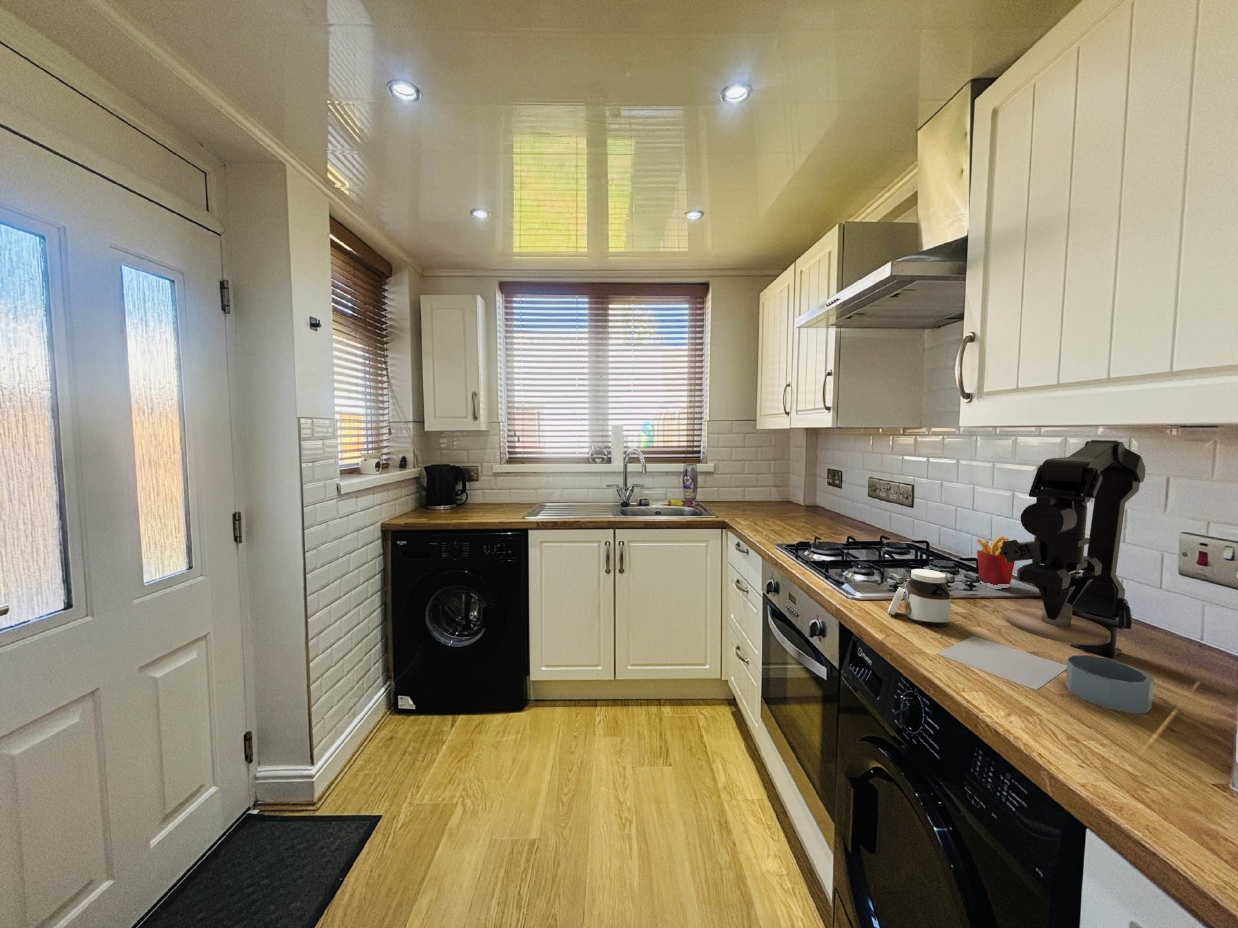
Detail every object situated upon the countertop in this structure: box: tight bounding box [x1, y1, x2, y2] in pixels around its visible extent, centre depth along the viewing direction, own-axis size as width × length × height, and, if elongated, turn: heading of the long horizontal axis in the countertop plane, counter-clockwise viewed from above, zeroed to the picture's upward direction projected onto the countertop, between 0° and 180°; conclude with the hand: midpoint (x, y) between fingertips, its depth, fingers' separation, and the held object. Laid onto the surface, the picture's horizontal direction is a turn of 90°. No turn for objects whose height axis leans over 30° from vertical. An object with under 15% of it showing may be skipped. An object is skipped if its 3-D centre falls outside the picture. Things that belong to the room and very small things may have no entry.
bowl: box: [1065, 654, 1155, 714], centre depth 83 cm, size 10×10×5 cm
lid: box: [1005, 603, 1111, 645], centre depth 89 cm, size 14×14×4 cm
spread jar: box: [887, 568, 952, 628], centre depth 117 cm, size 12×11×12 cm
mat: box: [936, 635, 1067, 691], centre depth 96 cm, size 16×16×1 cm
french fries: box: [976, 535, 1016, 585], centre depth 141 cm, size 9×8×15 cm
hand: (1056, 616), depth 89 cm, fingers closed on lid, 4 cm apart
